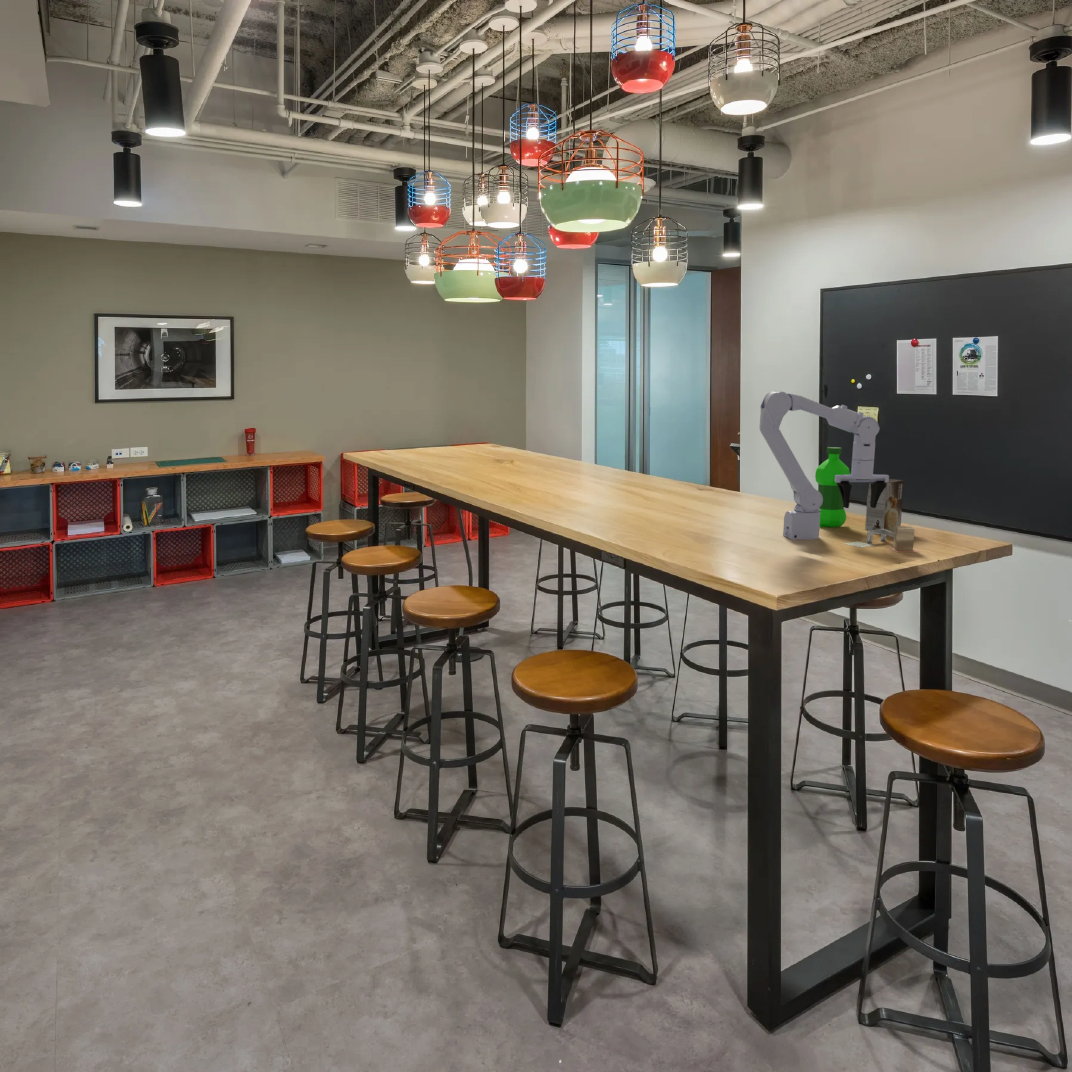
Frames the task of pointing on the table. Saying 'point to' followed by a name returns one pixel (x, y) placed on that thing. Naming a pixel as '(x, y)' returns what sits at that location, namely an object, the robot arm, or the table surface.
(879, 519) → the coffee box
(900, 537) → the birch block
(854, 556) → the table surface
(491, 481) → the table surface
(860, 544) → the board
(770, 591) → the table surface
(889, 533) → the bent wire
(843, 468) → the plastic bottle
